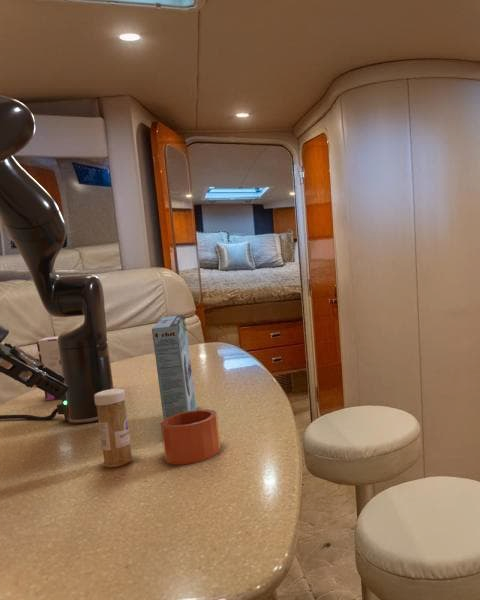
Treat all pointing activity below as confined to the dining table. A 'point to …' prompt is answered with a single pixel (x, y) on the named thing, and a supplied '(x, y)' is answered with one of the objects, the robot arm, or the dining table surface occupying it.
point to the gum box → (173, 365)
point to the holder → (190, 436)
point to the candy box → (50, 357)
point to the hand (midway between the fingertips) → (62, 388)
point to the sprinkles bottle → (113, 427)
